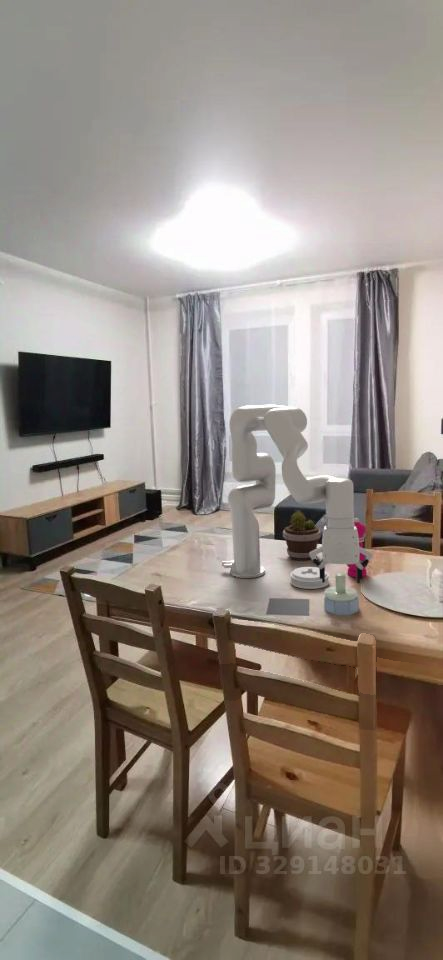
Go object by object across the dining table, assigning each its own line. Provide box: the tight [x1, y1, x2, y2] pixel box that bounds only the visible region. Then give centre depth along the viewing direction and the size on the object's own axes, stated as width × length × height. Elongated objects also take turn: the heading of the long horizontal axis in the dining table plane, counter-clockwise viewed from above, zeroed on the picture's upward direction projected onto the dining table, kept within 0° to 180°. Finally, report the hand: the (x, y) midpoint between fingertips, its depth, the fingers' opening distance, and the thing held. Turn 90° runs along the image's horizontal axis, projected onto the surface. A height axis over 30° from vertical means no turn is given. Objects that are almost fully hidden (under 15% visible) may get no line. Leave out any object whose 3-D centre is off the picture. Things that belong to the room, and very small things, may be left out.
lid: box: [289, 566, 330, 590], centre depth 160 cm, size 13×13×5 cm
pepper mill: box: [346, 517, 369, 578], centre depth 166 cm, size 7×7×20 cm
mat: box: [265, 597, 310, 617], centre depth 142 cm, size 12×12×1 cm
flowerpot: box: [282, 510, 322, 561], centre depth 189 cm, size 14×15×20 cm
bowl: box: [323, 592, 360, 616], centre depth 139 cm, size 9×9×4 cm
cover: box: [324, 572, 358, 602], centre depth 139 cm, size 9×9×6 cm
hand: (340, 581), depth 138 cm, fingers open, 9 cm apart
